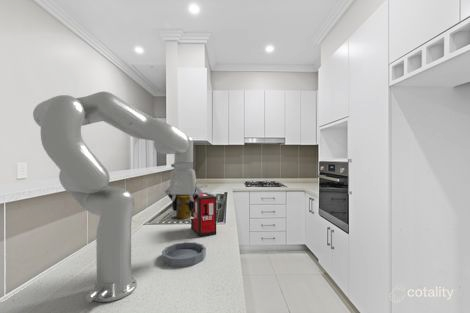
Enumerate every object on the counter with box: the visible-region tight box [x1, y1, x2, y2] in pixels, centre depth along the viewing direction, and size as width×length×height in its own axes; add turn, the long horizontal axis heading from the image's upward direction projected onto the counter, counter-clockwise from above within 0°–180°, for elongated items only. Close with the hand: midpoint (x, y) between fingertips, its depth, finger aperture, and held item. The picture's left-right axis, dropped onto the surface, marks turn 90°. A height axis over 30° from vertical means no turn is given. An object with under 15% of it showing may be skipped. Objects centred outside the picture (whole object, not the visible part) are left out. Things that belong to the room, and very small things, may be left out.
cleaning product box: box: [190, 192, 217, 238], centre depth 128 cm, size 16×9×20 cm, turn 27°
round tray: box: [161, 241, 207, 268], centre depth 95 cm, size 17×17×3 cm
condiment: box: [168, 195, 194, 222], centre depth 95 cm, size 7×8×12 cm
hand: (183, 210), depth 95 cm, fingers closed on condiment, 6 cm apart
